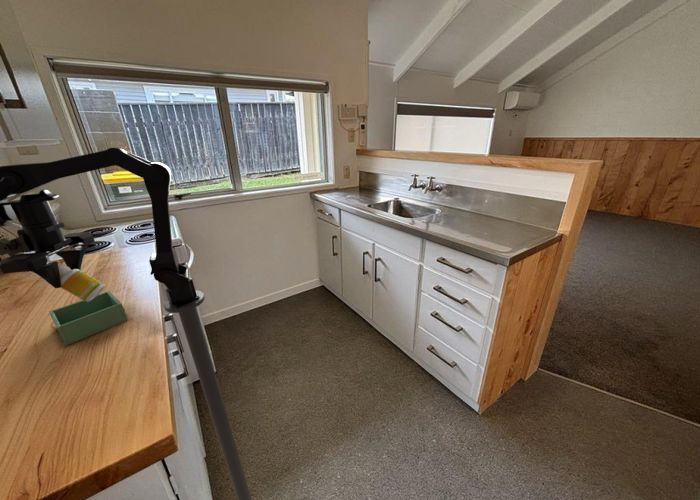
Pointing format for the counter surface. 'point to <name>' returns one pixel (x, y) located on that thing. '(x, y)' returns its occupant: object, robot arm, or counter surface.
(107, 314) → the open box
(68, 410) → the counter surface
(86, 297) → the supplement bottle
